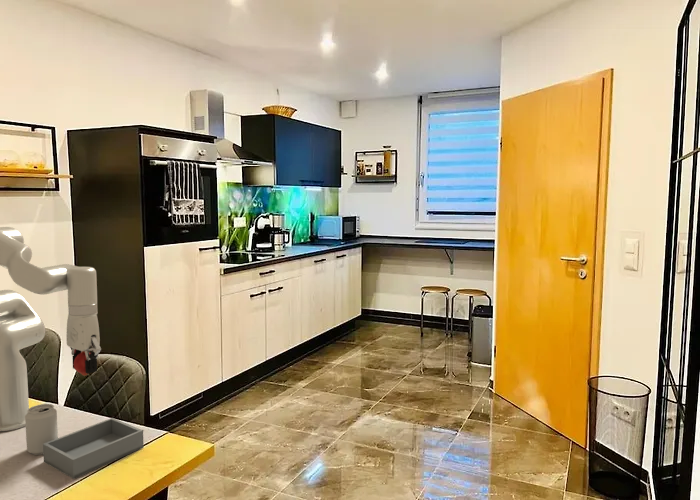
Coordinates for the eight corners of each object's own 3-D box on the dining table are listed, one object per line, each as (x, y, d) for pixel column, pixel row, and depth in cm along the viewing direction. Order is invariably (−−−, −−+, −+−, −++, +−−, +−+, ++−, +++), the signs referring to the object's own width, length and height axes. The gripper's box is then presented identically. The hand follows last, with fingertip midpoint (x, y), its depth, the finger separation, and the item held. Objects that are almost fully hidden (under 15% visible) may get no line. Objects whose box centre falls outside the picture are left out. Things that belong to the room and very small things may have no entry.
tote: (43, 462, 137) (42, 443, 136) (113, 433, 153) (112, 417, 152) (73, 479, 129) (73, 459, 128) (143, 447, 145) (143, 430, 144)
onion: (75, 373, 154) (74, 347, 153) (96, 371, 156) (96, 345, 155) (73, 379, 149) (72, 352, 148) (95, 377, 151) (94, 350, 150)
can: (44, 457, 139) (41, 414, 138) (20, 454, 140) (17, 411, 139) (64, 444, 146) (62, 403, 145) (41, 441, 148) (39, 401, 146)
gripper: (54, 307, 152) (56, 367, 154) (87, 316, 142) (89, 380, 144) (79, 303, 158) (81, 361, 160) (112, 311, 149) (114, 372, 151)
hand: (85, 369), depth 152 cm, fingers closed on onion, 5 cm apart
